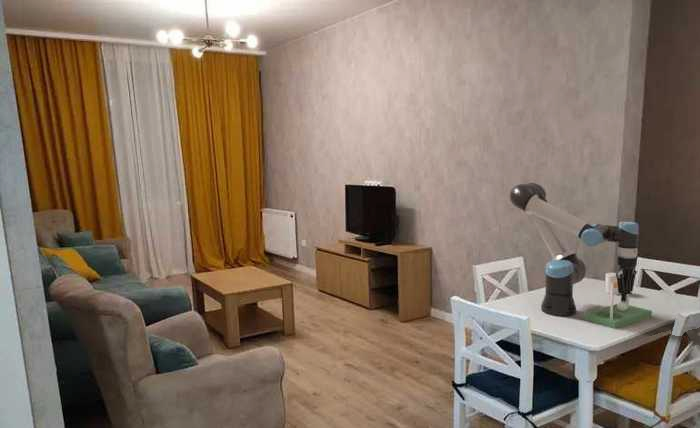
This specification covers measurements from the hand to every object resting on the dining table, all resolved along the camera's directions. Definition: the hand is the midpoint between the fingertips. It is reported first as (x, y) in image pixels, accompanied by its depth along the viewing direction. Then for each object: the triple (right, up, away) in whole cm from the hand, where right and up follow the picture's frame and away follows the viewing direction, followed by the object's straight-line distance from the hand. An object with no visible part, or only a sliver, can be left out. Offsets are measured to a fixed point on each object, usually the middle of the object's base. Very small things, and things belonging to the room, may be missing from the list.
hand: (624, 307), depth 213 cm
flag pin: (-12, -3, -12) cm, 17 cm away
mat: (-5, -4, -3) cm, 7 cm away
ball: (-2, +1, -2) cm, 3 cm away
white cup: (+15, +1, +35) cm, 38 cm away
